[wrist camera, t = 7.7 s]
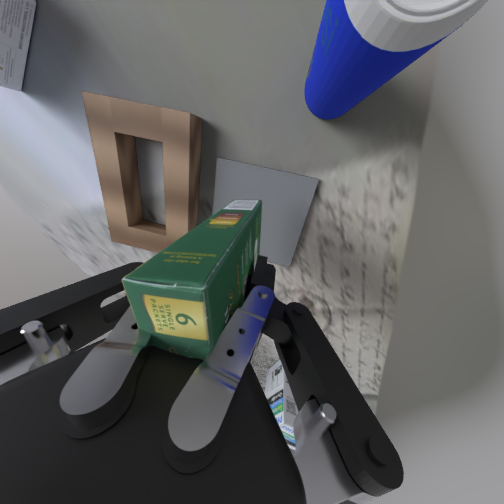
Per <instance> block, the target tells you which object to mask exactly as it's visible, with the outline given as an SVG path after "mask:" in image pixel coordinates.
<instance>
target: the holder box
mask: <svg viewBox="0 0 504 504" xmlns="http://www.w3.org/2000/svg"><path fill="white" fill-rule="evenodd" d="M82 96H83V101H84V106H85V111H86V116H87V121H88V126H89V131H90V136H91V141H92V146H93V151H94V156H95V161H96V166H97V171H98V176H99V180H100V185H101V190H102V195H103V200H104V205H105V210H106V215H107V220H108V225H109V230H110V235H111V240H112V241H113V242H117V243H121V244H125V245H129V246H133V247H137V248H141V249H145V250H149V251H153V252H157V253H159V252H161V251H162V250H163V249H165V248H166V247H168V246H169V245H171V244H172V243H173V242H175V241H176V240H178V239H179V238H181V237H182V236H183V235H185V234H186V233H188V232H189V231H191V230H192V229H193V228H195V227H196V226H198V204H199V182H200V160H201V137H202V118H200V117H198V116H196V115H193V114H191V113H188V112H183V111H178V110H173V109H168V108H163V107H158V106H153V105H148V104H143V103H138V102H133V101H128V100H124V99H119V98H114V97H109V96H104V95H99V94H94V93H89V92H84V91H82ZM135 136H136V137H141V138H146V139H150V140H155V141H160V142H162V144H163V167H164V191H165V214H166V225H162V224H158V223H153V222H149V221H145V220H143V213H142V204H141V194H140V184H139V175H138V165H137V155H136V146H135Z"/></svg>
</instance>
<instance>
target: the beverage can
mask: <svg viewBox="0 0 504 504" xmlns="http://www.w3.org/2000/svg"><path fill="white" fill-rule="evenodd" d="M487 1H488V0H327V1H326V5H325V9H324V13H323V17H322V21H321V24H320V28H319V32H318V36H317V40H316V44H315V48H314V52H313V55H312V59H311V63H310V67H309V71H308V75H307V79H306V83H305V100H306V104H307V106H308V108H309V109H310V111H311V112H312V113H313V114H314V115H315V116H317V117H319V118H321V119H334V118H337V117H339V116H341V115H343V114H344V113H346V112H347V111H349V110H350V109H351V108H353V107H354V106H355V105H357V104H358V103H359V102H361V101H362V100H363V99H365V98H366V97H367V96H369V95H370V94H371V93H373V92H374V91H375V90H377V89H378V88H379V87H381V86H382V85H383V84H385V83H386V82H387V81H389V80H390V79H391V78H393V77H394V76H395V75H396V74H398V73H399V72H400V71H402V70H403V69H404V68H406V67H407V66H408V65H410V64H411V63H412V62H414V61H415V60H416V59H418V58H419V57H420V56H422V55H423V54H424V53H426V52H427V51H428V50H430V49H431V48H432V47H434V46H435V45H436V44H438V43H439V42H440V41H442V40H443V39H444V38H446V37H447V36H448V35H450V34H451V33H452V32H454V31H455V30H456V29H458V28H459V27H460V26H462V25H463V24H464V23H465V22H466V21H467V20H469V18H471V17H472V16H473V15H474V14H475V13H476V12H477V11H478V10H479V9H480V8H481V7H482V6H483V5H484V4H485V3H486V2H487Z"/></svg>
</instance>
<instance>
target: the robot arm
mask: <svg viewBox="0 0 504 504" xmlns="http://www.w3.org/2000/svg"><path fill="white" fill-rule="evenodd" d="M267 259H268V257H266V256H261V255H258V259H257V262H256V266H255V269H254V273H253V276H252V280H251V283H250V288H249V292H248V297H247V299H246V301H245V302H244V304H243V306H242V307H241V308H237V310H236V311H235V313H234V314H233V316H232V317H231V319H230V321H229V322H228V324H227V325H226V327H225V328H224V330H223V332H222V333H221V335H220V336H219V338H218V341H217V343H216V345H215V346H214V347H213V348H212V349H211V350H210V352H209V354H208V355H207V357H206V358H205V360H202V359H198V358H188V357H185V356H181V355H178V354H175V353H171V352H169V351H166V350H163V349H161V348H158V347H155V346H153V345H152V344H153V341H152V334H151V333H148V332H146V331H143V330H141V329H139V328H138V326H137V322H136V320H135V317H134V314H133V311H132V308H131V305H130V302H129V300H128V297H127V294H126V291H125V294H126V296H125V297H123V298H121V299H119V300H117V301H115V302H112V303H110V304H108V305H106V306H104V307H102V308H101V307H100V305H101V303H102V301H103V300H104V299H106V298H108V297H110V296H112V295H114V294H116V293H119V292H121V291H123V290H125V289H124V286H123V283H122V279H123V278H124V277H125V276H127V275H128V274H129V273H131V272H132V271H134V270H135V269H136V268H138V267H139V266H141V265H142V264H143V263H142V262H134V263H129V264H126V265H124V266H121V267H118V268H115V269H113V270H110V271H107V272H104V273H101V274H99V275H96V276H93V277H90V278H87V279H85V280H82V281H79V282H76V283H74V284H71V285H68V286H66V287H62V288H60V289H57V290H54V291H51V292H49V293H46V294H43V295H40V296H38V297H35V298H32V299H29V300H26V301H24V302H21V303H18V304H15V305H12V306H10V307H7V308H4V309H1V310H0V504H364V503H366V502H368V501H370V500H372V499H375V498H377V497H379V496H381V495H383V494H386V493H388V492H390V491H392V490H394V489H396V488H398V487H400V486H401V484H402V482H403V474H404V473H403V467H402V463H401V460H400V457H399V455H398V453H397V451H396V449H395V448H394V446H393V444H392V443H391V441H390V439H389V438H388V436H387V435H386V433H385V431H384V430H383V428H382V427H381V425H380V423H379V422H378V420H377V418H376V417H375V415H374V414H373V412H372V410H371V409H370V407H369V406H368V404H367V402H366V401H365V399H364V398H363V396H362V394H361V393H360V391H359V390H358V388H357V386H356V385H355V383H354V382H353V380H352V378H351V377H350V375H349V373H348V372H347V370H346V369H345V367H344V365H343V364H342V362H341V361H340V359H339V357H338V356H337V354H336V353H335V351H334V349H333V348H332V346H331V345H330V343H329V341H328V340H327V338H326V337H325V335H324V333H323V332H322V330H321V329H320V327H319V325H318V324H317V322H316V320H315V319H314V317H313V316H312V314H311V312H310V311H309V309H308V308H307V307H305V306H304V305H302V304H300V303H297V302H291V303H289V304H288V305H286V304H284V303H282V302H280V301H279V300H278V299H277V298H276V297H275V294H274V283H275V272H276V269H275V267H274V265H271V264H267ZM112 329H113V330H112ZM110 330H112V331H111V333H110V334H109V335H108V337H107V338H105V339H102V340H100V341H98V342H96V343H93V344H91V345H89V346H86V347H85V348H82V349H80V350H78V349H79V348H81V347H83V346H85V345H86V344H88V343H89V342H91V341H93V340H95V339H96V338H98V337H100V336H102V335H103V334H105V333H107V332H108V331H110ZM263 333H264V334H265V335H267V336H269V337H270V338H272V339H273V340H274V343H275V346H276V349H277V352H278V355H279V358H280V360H281V363H282V366H283V369H284V372H285V375H286V377H287V380H288V383H289V386H290V389H291V392H292V395H293V397H294V400H295V403H296V406H297V409H298V412H299V413H298V414H297V416H296V418H295V420H294V424H293V431H294V437H295V443H296V449H295V455H294V457H293V455H292V453H291V451H290V449H289V446H288V444H287V442H286V440H285V438H284V435H283V433H282V431H281V429H280V427H279V424H278V422H277V420H276V418H275V416H274V413H273V411H272V409H271V407H270V405H269V402H268V400H267V398H266V396H265V394H264V391H263V389H262V387H261V385H260V383H259V380H258V378H257V376H256V374H255V372H254V369H253V367H252V365H251V363H252V360H253V357H254V355H255V352H256V349H257V347H258V344H259V342H260V339H261V337H262V334H263ZM76 350H77V351H76ZM74 351H75V352H74Z"/></svg>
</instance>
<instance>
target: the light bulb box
mask: <svg viewBox="0 0 504 504" xmlns="http://www.w3.org/2000/svg"><path fill="white" fill-rule="evenodd" d="M265 396H266V398H267V400H268V402H269V405H270V407H271V409H272V411H273V413H274V416H275V418H276V420H277V422H278V424H279V427H280V429H281V431H282V433H283V435H284V438H285V440H286V442H287V444H288V446H289V448H291V449H293V450H295V449H296V443H295V437H294V431H293V424H294V420H295V418H296V416H297V414H298V413H299V412H298V409H297V406H296V403H295V400H294V397H293V395H292V392H291V389H290V386H289V383H288V380H287V377H286V375H285V372H284V369H283V366H282V363H281V360H279V361H278V362H276V363H275V364H274V365H273V366H272V367H271V368H269V369H268V370H267V376H266V389H265Z"/></svg>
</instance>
